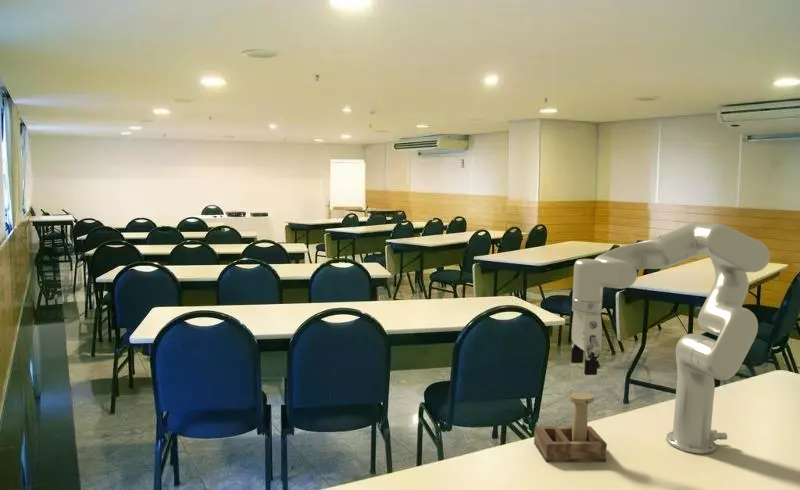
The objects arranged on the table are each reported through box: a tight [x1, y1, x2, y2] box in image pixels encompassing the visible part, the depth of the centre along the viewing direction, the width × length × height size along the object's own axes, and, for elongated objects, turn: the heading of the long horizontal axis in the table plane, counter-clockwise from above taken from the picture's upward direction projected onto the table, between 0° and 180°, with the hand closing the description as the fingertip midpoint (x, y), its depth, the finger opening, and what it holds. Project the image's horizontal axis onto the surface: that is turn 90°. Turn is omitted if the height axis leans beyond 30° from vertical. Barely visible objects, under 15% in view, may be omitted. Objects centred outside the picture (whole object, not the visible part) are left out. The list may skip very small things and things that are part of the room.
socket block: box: [533, 425, 608, 463], centre depth 160 cm, size 16×11×5 cm
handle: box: [569, 391, 595, 441], centre depth 160 cm, size 5×6×15 cm
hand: (583, 368), depth 158 cm, fingers open, 9 cm apart
